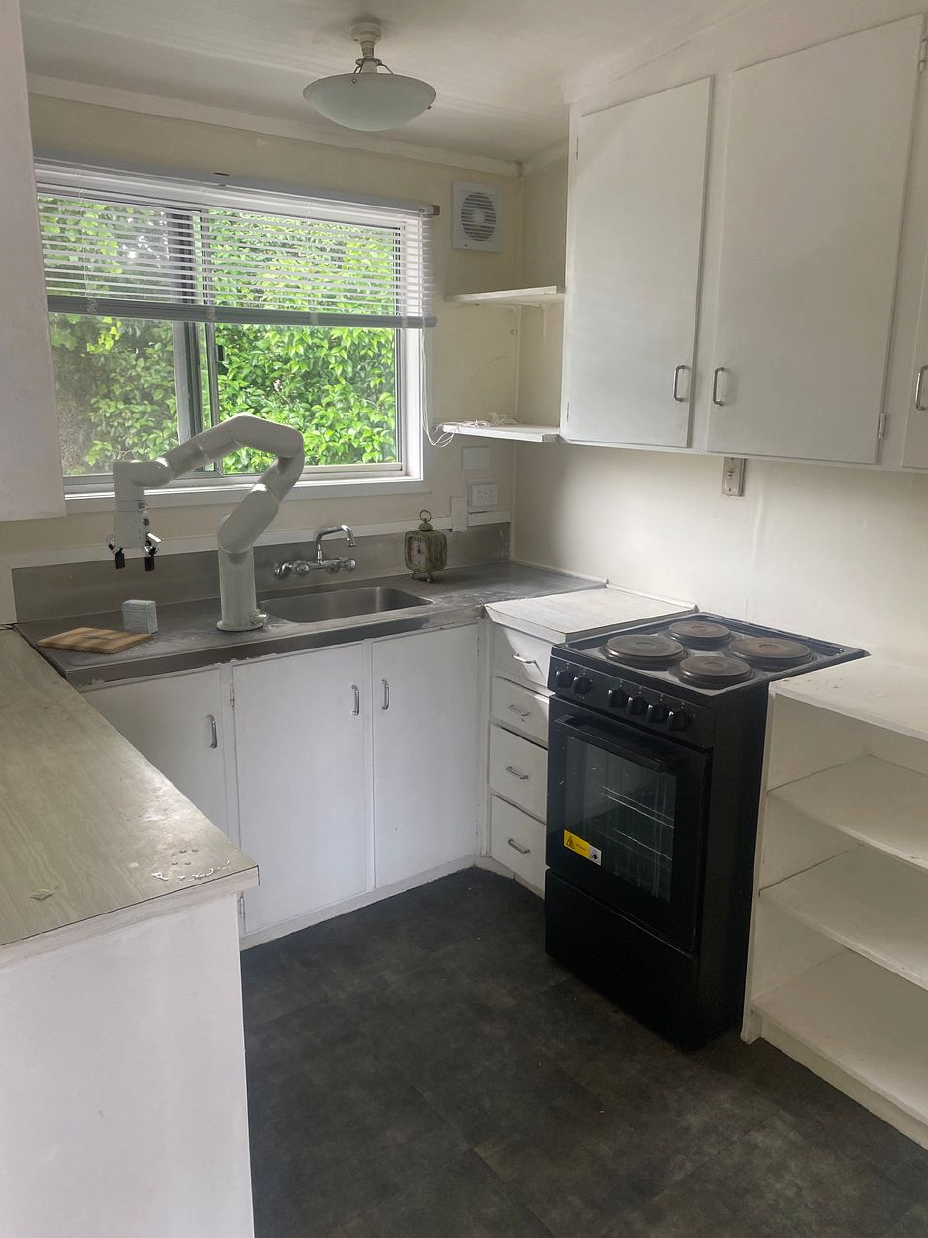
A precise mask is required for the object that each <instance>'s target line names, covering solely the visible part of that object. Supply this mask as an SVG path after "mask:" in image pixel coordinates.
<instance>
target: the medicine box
mask: <svg viewBox="0 0 928 1238" xmlns="http://www.w3.org/2000/svg"><path fill="white" fill-rule="evenodd" d="M121 610H122V619H123V620H122V621H123V629H124V630H123V632H132V633H142V634H152V635H153V634H154V633H156V632H158V631H159V628H158V619H157V618H158V617H157V608H156V601H154V600H141V599H140V600H139V599H129V600H126V601H124V602H122V603H121Z"/></svg>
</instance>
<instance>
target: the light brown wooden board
mask: <svg viewBox="0 0 928 1238" xmlns="http://www.w3.org/2000/svg"><path fill="white" fill-rule="evenodd" d="M154 638H155V637H154V634H153V633H152V634H142V633H132V632H124V631H120V630H112V629H102V628H101V629H100V628H92V627H84V626H83V627H79V628H74V629H72V630H68V631H66V632H62V633H59V634H56V635H52V636H50V637H46V638H43V639H41V640H37V646H39V647H46V648H55V649H65V650H73V649H74V650H75V651H82V650H83V651H82V652H91V651H93V653H100V652H103V653H102V654H109V653H114V654H116V652H117V653H119V652H122V651H125V650H128V649H130V648H133V647H135V646H138V645H141V644H144V643H147V642H149V641H152V640H154ZM118 651H119V652H118Z"/></svg>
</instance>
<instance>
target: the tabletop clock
mask: <svg viewBox="0 0 928 1238" xmlns="http://www.w3.org/2000/svg"><path fill="white" fill-rule="evenodd" d="M424 512H425V513H427V514H428V515H429V519H428V518H427V517H424V518H423V517H422V513H424ZM418 515H419V519H420V520H421V521H422V523H420V524H419V525H418V528H417V529H415V530H414V529H413V530H408V531H406V532H405V536H404V561H405V566H406V568H407V569H409V570H411V571H412V572H413V573H411V574H409V578H410V579H415V574H416V573H422V574H423V573H428V578H427V579H426V582H427V584H430V583H432V581H433V579H434V575H433V574H432V573H433V572H439V571H442V570H444V569H445V568H447V565H448V563H447V562H448V540H447V536H446V535H445V534H444V533H442V532H441V531H439V530H436V529H434V527H433V526H432V524H431V523H430V522H431V520H432V513H431V512H430V511H429V510H428V509H422V510H420V512H419V514H418Z"/></svg>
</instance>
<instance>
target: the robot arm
mask: <svg viewBox="0 0 928 1238" xmlns="http://www.w3.org/2000/svg"><path fill="white" fill-rule="evenodd" d="M245 448H249V449H252V450H256V451H258V452H263V453H266V454H270V455H274V456H273V459H272V462H271V463H270V465H269V466H268V467H267V468H266V470H265V471H264V473H263V474H262V475H261V476H260V477H258V480H257V481H256V482H255V483H254V484H253V485H252V486H251V487H250V488H249V489H248V490H247V491H246V492H245V494H244V495H243V499H242V500H241V502H240V503H238V505H237V506H236V507H235V509H233V511H232V512H231V513H230V514H229V515H228V514H227V515H225V516H224V517H223V518H221V520H220V521H219V522H218V524H217V527H216V541H217V552H218V557H217V558H218V570H219V586H220V588H219V589H220V590H219V591H220V602H221V603H220V605H221V620H219V621H218V622H217V623H216V627H217V629H219V630H221V631H227V632H243V631H250V630H251V631H252V630H256V629H258V628H261V627H262V626H263V624H266V623H268V619H269V618H268V617H269V616H268V615H267V614H261V609H257V597H256V596H257V595H256V582H255V578H256V577H255V560H254V559H255V558H254V544H255V543H256V541H257V540H258V539H259V538H260V537H261V535H262V534H263V533H264V532H265V530H266V529H267V528H269V526H270V525H271V523H273V521H274V520H275V518H276V517H277V515H278V513H279V510H280V504H281V503H282V502H283V501H284V499H285V498H286V497H287V495H288V494H289V493H290V492H291V490H292V489H293V487H294V486H295V485H296V483H297V482H298V481H299V479H300V478H301V476H302V474H303V471H304V467H305V463H306V452H305V441H304V436H303V434H302V433H301V431H300V430H299V429H297V428H296V427H294V426H292V425H289V424H283V423H279V422H275V421H272V420H269V419H265V418H262V417H259V416H256V415H253V414H251V413H248V412H241V413H237V414H235V415H233V416H231V417H229V418H227V419H225V420H223V421H222V422H220V423H218V424H216V425H214V426H212V427H210V428H207V429H206V430H204V431H202V432H200V433H198V434H196V435H193V436H192V437H191V438H190V439H188V440H187V441H185V442H182V443H181V444H180V445H177V446H176V447H173V448H172V449H169V450H168V451H165V452H164V453H161V454H159V455H158V456H156V457H153V458H152V459H150V460H146V461H145V460H144V461H140V460H138V459H119V460H115V461H114V462H113V463H112V478H113V489H114V490H113V491H114V503H115V504H114V505H115V511H114V512H113V513H114V514H113V521H112V522H113V523H112V531H113V532H112V533H111V534H109V535H107V536H105V538H104V540H105V542H106V543H107V546H108V548H109V549H110V551H111V553H112V554H113V555H114V564H115V569H116V570H120V569H124V568H126V561H125V560H126V558H125V557H126V556H125V553H124V550H140V551H142V552H143V554H144V555H145V556H144V557H143V563H144V571H145V572H147V573H148V572H152V571H154V570H155V556H156V555H157V553H158V551H159V550H160V547H161V544H162V540H161V539H159V538H158V537H156V536H154V531H153V525H152V519H151V517H150V513H149V511H146V509H148V507H149V506H148V503H147V502H146V501H145V500H146V499H145V488H150V489H162V488H165V487H166V486H168V485H169V484H170V483H171V482H172V481H174V480H176V479H178V478H180V477H182V476H183V475H186V474H188V473H190V472H192V471H194V470H197V469H199V468H201V467H202V468H203V467H206V466H210V465H212V464H216V463H217V462H218V461H220V460H222V459H224V458H226V457H228V456H230V455H233V454H234V453H236V452H238V451H240V450H242V449H245Z"/></svg>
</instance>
